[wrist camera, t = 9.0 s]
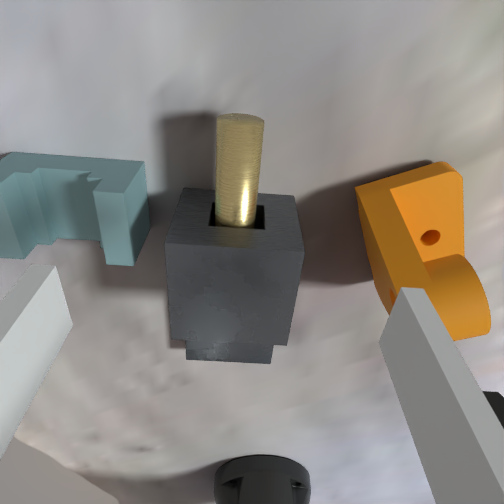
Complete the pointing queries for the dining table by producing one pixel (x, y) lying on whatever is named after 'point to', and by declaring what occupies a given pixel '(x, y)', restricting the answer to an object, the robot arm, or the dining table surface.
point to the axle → (237, 169)
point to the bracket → (423, 245)
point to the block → (232, 278)
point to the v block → (73, 204)
